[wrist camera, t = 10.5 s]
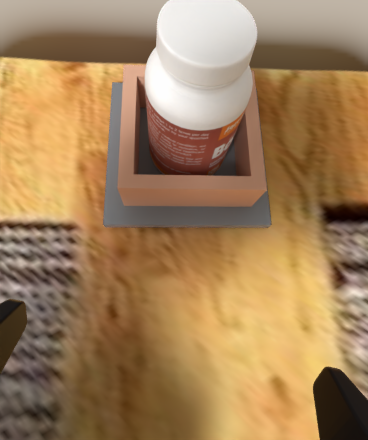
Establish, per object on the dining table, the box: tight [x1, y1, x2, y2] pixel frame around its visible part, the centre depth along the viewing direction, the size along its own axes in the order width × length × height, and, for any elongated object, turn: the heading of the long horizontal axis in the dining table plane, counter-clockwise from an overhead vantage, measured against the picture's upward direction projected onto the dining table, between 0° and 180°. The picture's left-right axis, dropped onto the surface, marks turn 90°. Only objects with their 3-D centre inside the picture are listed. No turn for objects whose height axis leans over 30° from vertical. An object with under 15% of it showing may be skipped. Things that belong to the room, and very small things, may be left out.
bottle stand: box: [103, 65, 271, 228], centre depth 22 cm, size 13×13×4 cm
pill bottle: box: [145, 0, 257, 176], centre depth 18 cm, size 6×6×11 cm
